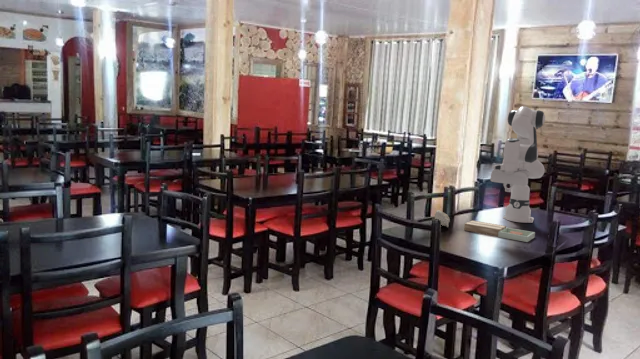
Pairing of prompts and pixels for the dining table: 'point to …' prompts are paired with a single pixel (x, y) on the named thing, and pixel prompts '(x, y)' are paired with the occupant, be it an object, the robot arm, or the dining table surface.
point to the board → (483, 227)
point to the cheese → (442, 218)
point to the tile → (516, 233)
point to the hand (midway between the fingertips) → (507, 191)
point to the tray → (526, 234)
